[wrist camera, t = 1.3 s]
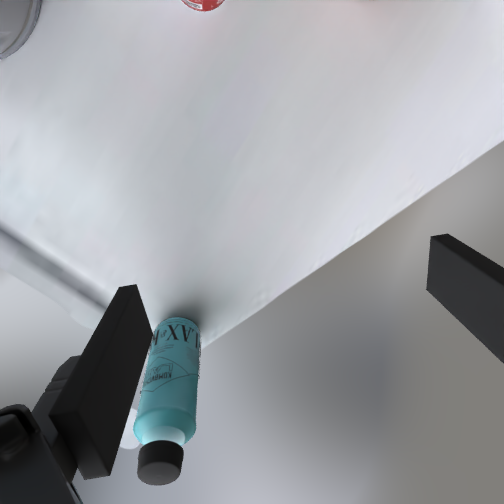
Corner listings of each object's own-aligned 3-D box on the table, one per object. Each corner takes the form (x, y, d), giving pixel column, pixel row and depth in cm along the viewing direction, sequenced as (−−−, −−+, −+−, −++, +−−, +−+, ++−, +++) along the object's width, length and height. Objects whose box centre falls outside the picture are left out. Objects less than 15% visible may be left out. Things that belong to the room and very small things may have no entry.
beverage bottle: (211, 327, 49) (211, 473, 31) (177, 351, 50) (159, 504, 33) (178, 300, 46) (159, 444, 28) (143, 326, 47) (105, 479, 30)
